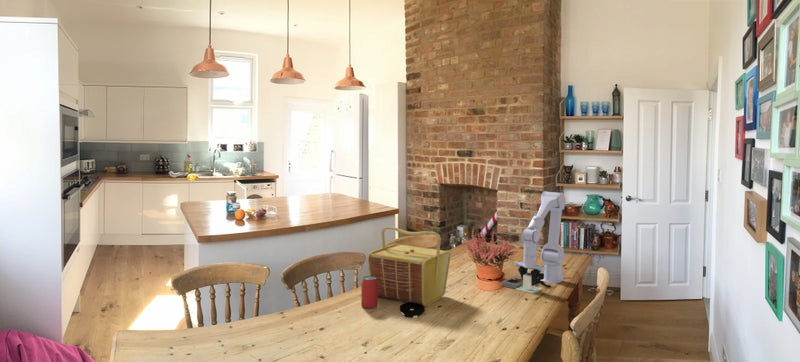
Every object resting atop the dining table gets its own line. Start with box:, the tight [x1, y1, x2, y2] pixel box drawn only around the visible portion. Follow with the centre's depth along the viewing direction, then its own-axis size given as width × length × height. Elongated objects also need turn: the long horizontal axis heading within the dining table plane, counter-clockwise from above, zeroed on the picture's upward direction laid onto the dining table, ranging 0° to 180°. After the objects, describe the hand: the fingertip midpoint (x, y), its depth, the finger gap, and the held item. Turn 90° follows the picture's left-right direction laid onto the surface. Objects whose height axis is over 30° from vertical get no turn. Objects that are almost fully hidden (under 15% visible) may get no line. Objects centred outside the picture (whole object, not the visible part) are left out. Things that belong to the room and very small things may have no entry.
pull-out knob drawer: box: [517, 269, 531, 278], centre depth 251 cm, size 4×4×7 cm
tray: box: [515, 286, 543, 295], centre depth 239 cm, size 8×8×1 cm
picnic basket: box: [367, 226, 451, 307], centre depth 226 cm, size 29×26×30 cm
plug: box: [523, 272, 536, 290], centre depth 238 cm, size 4×4×7 cm
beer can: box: [360, 275, 378, 310], centre depth 214 cm, size 7×7×12 cm
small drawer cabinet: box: [501, 275, 523, 290], centre depth 248 cm, size 18×8×3 cm, turn 137°
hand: (528, 284), depth 239 cm, fingers closed on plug, 4 cm apart
